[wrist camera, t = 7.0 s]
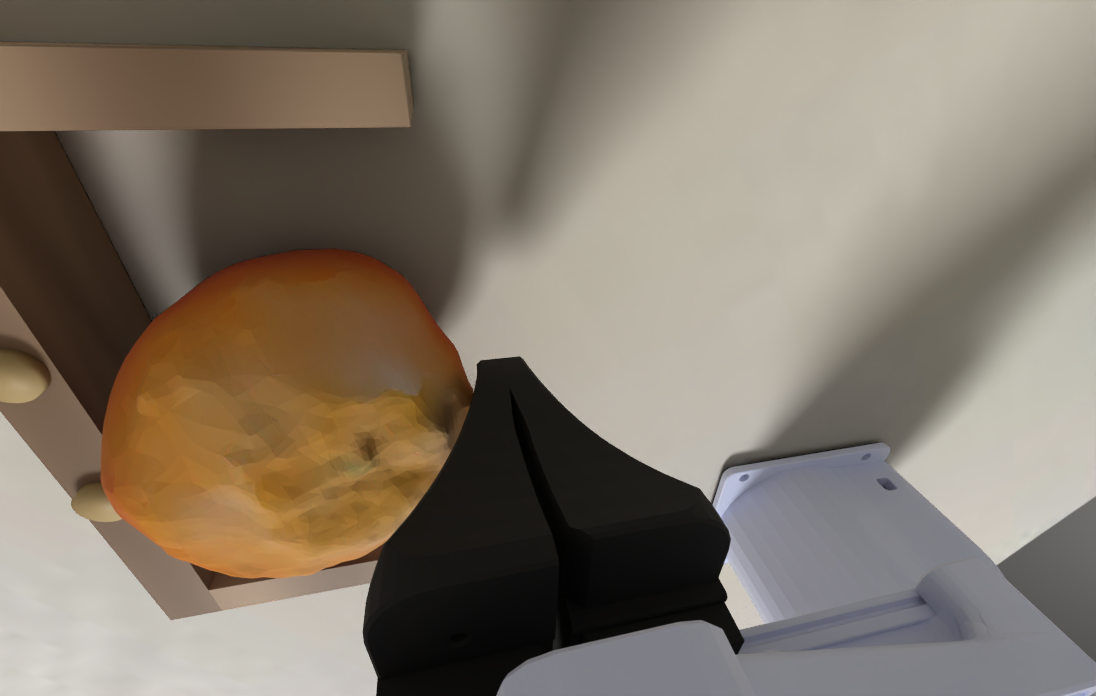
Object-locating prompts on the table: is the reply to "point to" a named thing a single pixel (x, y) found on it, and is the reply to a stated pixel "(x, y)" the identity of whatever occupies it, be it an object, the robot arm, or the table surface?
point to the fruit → (283, 415)
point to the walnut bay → (96, 271)
